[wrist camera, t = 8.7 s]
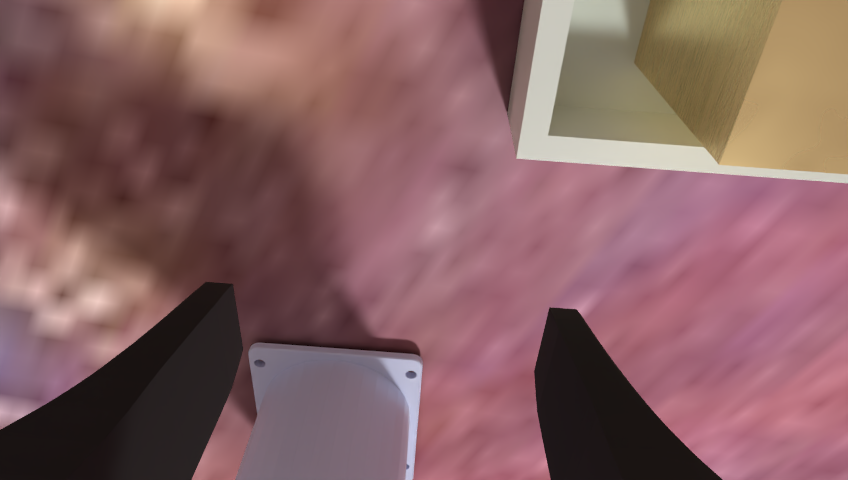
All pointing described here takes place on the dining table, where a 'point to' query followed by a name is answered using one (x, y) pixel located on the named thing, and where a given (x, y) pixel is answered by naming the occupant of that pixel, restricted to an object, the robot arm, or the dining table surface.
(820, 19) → the tea tin
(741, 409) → the dining table surface
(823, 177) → the tote
